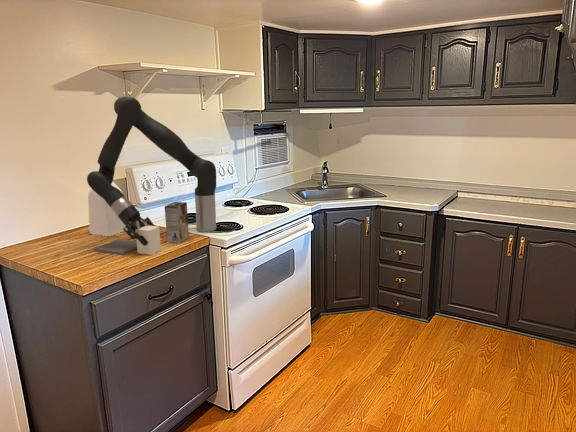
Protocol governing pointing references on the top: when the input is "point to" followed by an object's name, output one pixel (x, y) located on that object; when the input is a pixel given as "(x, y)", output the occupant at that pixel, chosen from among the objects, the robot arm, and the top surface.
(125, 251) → the mat
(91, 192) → the milk
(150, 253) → the white rectangular block
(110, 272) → the top surface
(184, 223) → the coffee box
